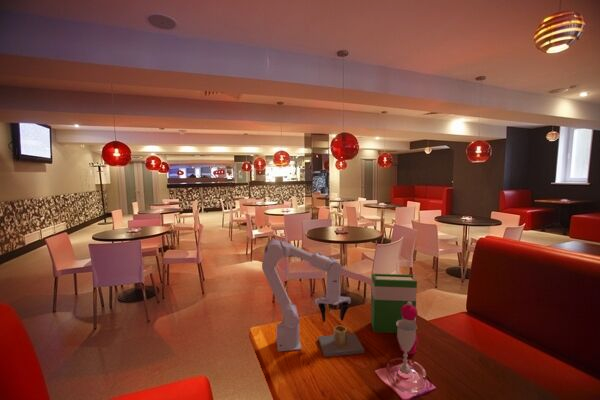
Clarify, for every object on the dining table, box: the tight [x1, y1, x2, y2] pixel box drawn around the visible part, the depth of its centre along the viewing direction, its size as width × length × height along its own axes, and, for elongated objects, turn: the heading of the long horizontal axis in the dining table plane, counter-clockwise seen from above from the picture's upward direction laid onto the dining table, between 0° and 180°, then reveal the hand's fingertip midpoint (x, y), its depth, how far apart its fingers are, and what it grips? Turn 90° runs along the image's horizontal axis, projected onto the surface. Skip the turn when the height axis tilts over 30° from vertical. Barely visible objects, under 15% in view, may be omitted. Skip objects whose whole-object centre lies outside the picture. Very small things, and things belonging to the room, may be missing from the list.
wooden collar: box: [333, 324, 348, 347], centre depth 111 cm, size 5×5×6 cm
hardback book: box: [370, 273, 418, 334], centre depth 123 cm, size 18×7×24 cm, turn 85°
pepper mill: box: [398, 301, 419, 355], centre depth 109 cm, size 7×7×20 cm
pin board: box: [317, 332, 365, 358], centre depth 111 cm, size 16×11×6 cm
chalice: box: [396, 319, 418, 374], centre depth 96 cm, size 7×7×18 cm
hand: (332, 320), depth 114 cm, fingers open, 7 cm apart
